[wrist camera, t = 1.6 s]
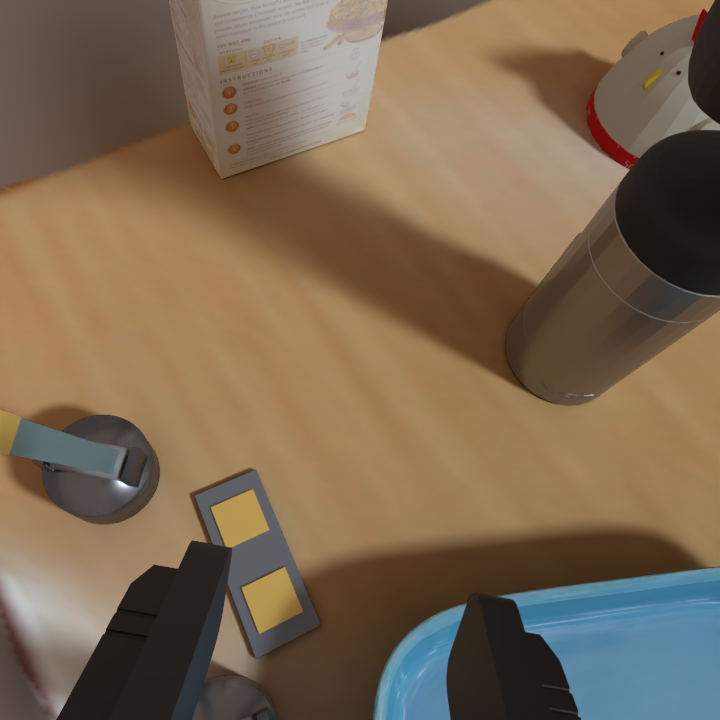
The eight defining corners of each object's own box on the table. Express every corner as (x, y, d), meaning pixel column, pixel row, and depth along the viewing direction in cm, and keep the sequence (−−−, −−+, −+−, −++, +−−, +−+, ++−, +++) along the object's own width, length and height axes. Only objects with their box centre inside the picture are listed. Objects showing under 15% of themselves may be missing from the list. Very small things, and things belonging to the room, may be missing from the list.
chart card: (195, 496, 40) (194, 495, 40) (256, 470, 42) (255, 468, 41) (256, 658, 37) (255, 659, 36) (320, 624, 38) (321, 624, 38)
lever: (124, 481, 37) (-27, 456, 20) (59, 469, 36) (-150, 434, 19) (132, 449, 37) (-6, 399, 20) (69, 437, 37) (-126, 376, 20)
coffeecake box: (331, 81, 58) (356, -156, 40) (367, 132, 56) (410, -95, 38) (187, 124, 54) (143, -122, 36) (220, 182, 51) (191, -50, 34)
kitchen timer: (561, 94, 62) (642, -55, 48) (661, 68, 66) (762, -77, 52) (636, 196, 57) (749, 63, 44) (739, 162, 61) (871, 30, 48)
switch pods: (46, 457, 40) (14, 433, 35) (139, 415, 42) (120, 387, 37) (195, 828, 33) (181, 864, 28) (298, 756, 35) (302, 778, 30)
